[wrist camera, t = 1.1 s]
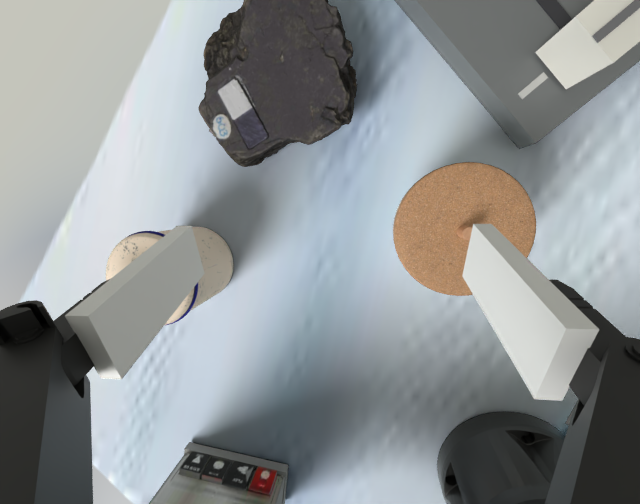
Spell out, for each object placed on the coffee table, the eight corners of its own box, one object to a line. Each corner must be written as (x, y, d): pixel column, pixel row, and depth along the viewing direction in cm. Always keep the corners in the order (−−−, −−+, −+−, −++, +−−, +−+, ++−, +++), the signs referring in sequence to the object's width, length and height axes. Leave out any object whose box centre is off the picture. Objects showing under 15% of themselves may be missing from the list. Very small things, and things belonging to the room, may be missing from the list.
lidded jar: (369, 244, 33) (370, 261, 24) (420, 152, 31) (443, 132, 22) (458, 291, 32) (494, 327, 23) (517, 201, 30) (583, 201, 21)
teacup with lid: (184, 209, 36) (99, 214, 24) (249, 249, 35) (193, 272, 24) (147, 292, 38) (54, 330, 27) (207, 330, 38) (138, 385, 27)
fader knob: (636, 31, 24) (708, -14, 19) (566, 89, 25) (615, 61, 20) (604, -8, 24) (667, -64, 19) (535, 52, 25) (577, 15, 20)
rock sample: (241, -18, 31) (217, -58, 26) (387, 21, 29) (391, -14, 25) (202, 153, 35) (176, 145, 30) (332, 195, 33) (325, 194, 28)
